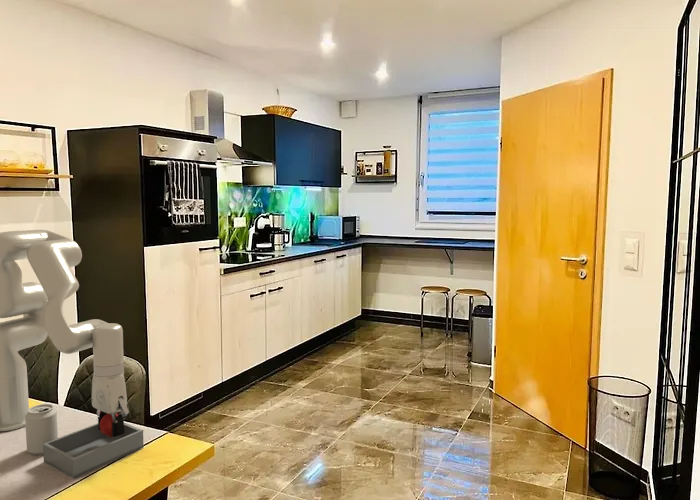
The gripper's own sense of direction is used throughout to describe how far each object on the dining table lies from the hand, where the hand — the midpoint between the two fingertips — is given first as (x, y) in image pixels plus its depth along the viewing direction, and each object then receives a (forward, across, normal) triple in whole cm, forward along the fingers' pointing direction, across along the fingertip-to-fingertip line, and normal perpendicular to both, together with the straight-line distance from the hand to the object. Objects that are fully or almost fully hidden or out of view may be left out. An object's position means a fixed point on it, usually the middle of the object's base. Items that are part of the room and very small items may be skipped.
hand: (111, 431), depth 144 cm
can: (+5, -14, -12) cm, 19 cm away
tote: (+5, 0, -5) cm, 7 cm away
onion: (+2, 0, 0) cm, 2 cm away
